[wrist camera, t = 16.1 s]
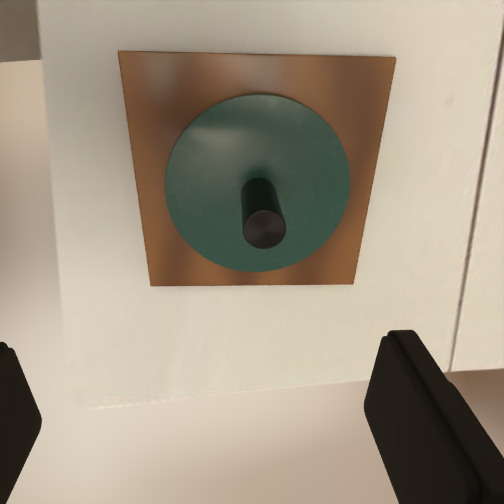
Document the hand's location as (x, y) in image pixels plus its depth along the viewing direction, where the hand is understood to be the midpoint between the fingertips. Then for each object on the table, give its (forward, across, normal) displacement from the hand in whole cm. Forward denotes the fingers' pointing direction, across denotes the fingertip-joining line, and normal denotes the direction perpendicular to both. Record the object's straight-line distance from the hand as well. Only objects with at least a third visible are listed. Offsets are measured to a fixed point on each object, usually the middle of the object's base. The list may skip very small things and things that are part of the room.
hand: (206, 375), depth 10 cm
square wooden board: (+21, -3, +2) cm, 21 cm away
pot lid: (+19, -3, +2) cm, 19 cm away
